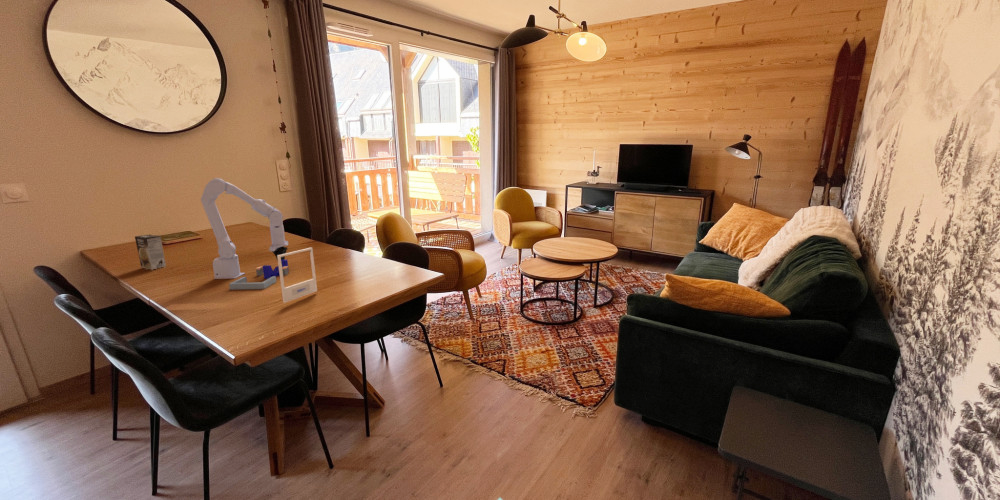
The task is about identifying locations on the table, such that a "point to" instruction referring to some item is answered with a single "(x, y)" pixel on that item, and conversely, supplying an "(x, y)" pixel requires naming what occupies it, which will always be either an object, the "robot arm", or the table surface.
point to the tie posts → (260, 270)
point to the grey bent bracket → (251, 284)
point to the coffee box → (150, 251)
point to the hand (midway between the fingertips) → (281, 262)
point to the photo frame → (299, 288)
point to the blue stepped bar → (269, 272)
